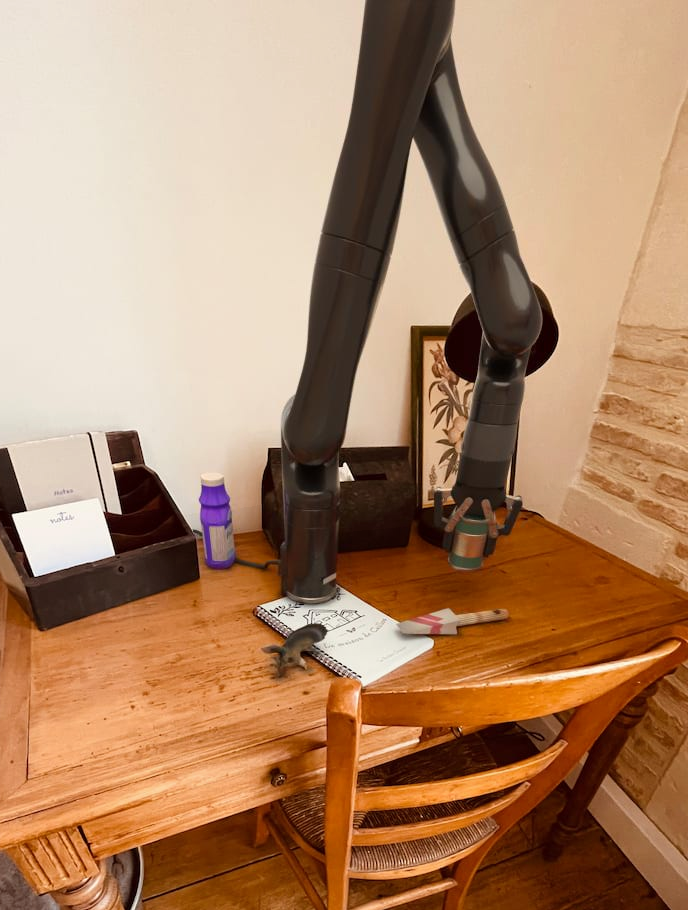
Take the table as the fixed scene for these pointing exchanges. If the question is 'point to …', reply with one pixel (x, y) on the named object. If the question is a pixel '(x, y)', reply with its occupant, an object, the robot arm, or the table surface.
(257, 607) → the table surface
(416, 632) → the paintbrush
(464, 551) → the tin can
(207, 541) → the bottle
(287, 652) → the bushy tailed squirrel toy
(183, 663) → the table surface
